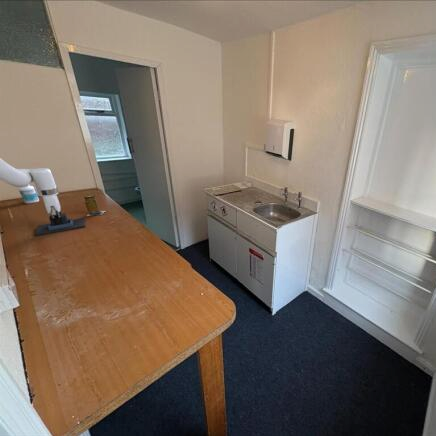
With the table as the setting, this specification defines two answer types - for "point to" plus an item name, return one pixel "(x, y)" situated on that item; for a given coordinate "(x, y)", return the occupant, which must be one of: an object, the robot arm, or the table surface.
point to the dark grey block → (63, 216)
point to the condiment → (92, 206)
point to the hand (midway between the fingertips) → (59, 222)
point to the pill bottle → (28, 194)
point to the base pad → (60, 227)
